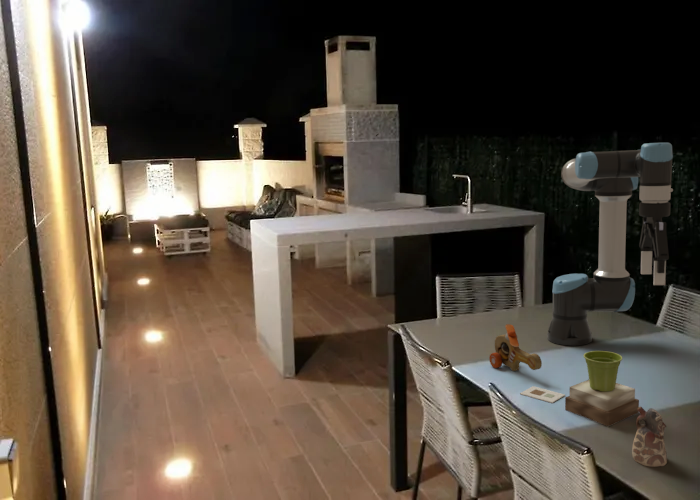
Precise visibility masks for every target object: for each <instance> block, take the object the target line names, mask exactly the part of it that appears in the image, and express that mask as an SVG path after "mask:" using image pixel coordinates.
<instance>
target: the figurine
mask: <svg viewBox="0 0 700 500" xmlns="http://www.w3.org/2000/svg"><path fill="white" fill-rule="evenodd" d="M638 411H639V415H638V416H637V418H636V421H635V425H636V429H637V430H636V433H635V436H634V439H633V442H632V449H631V456H632V459H633V460H634V461H635V462H636V463H637V464H640V465H642V466H644V467H650V468H651V467H655V468H656V467H664V466H665V465H666V464H667V463H668V458H667V455H668V454H667V450H666V444H665V443H666V442H665V437H664V434H665V430H666V428H667V425H666V423H664V421H663V417H662V415H661V414H660V412H659V411H657V410H656V408H655V409H654V408H648V409H647V411H646V410H645V409H644V407H642V406H639V407H638ZM641 421H643V422H644V424H642V423H640V422H641Z"/></svg>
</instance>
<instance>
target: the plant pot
mask: <svg viewBox="0 0 700 500" xmlns="http://www.w3.org/2000/svg"><path fill="white" fill-rule="evenodd" d="M583 358H584V360H585V363H586V367H587V368H586V369H587V373H588V374H587V375H588V380H589V383H590V387H591V388H592V389H594V390H600V391H603V392H606V391H612V390H613V389H615V385H616V383H617V379H618V373H619V372H618V371H619V366H620V365H621V362H622V360H623V356H622V355H621V354H619V353H616V352H612V351H605V350H591V351H586V352H584V354H583Z"/></svg>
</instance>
